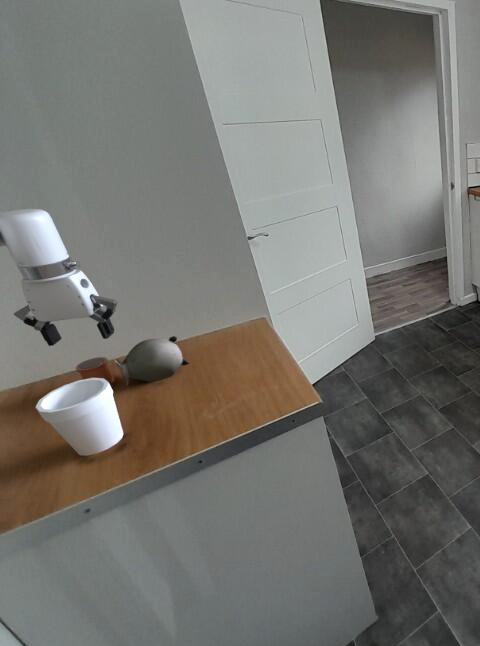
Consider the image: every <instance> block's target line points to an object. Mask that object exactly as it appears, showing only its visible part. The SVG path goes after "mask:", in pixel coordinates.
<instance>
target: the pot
mask: <svg viewBox="0 0 480 646" xmlns="http://www.w3.org/2000/svg"><path fill="white" fill-rule="evenodd" d="M75 371H76V372H77V373H79V374H80V376H81V378H82V380H84V379H90V378H104V379H105V380H106V381H108V382H109V384H110V385H111V384H112V383H113V382H114V381H115V377H114V375H113V374H114V373H113V372H112V370H111V368H110V366H109V359H108V358H107V357H105V356H99V357H93V358H89V359H85V360H83V361H82V362H80V363H78V364H77V365H76V366H75Z"/></svg>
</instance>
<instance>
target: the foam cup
mask: <svg viewBox="0 0 480 646" xmlns="http://www.w3.org/2000/svg"><path fill="white" fill-rule="evenodd" d="M113 390H114V389H112V386H111V383H110V384H109V382H108V381H106V380H105V379H104V378H90V379H84V380H83V379H79V380H76V381H72V382H70V383H67V384H64V385H62V386H59V387H58V388H56V389H53V390H52V391H51V390H50V392H47V394H45V395H44V396H43V397H41V398H40V399H39V400H38V402H37V403H36V405H35V409H36V410H37V412H38V414H39V415H40V417H41V418H42V419H43V420H44V421H45V422H46V423H49V424H50V425H51V426H52V428H53V429H55V431H56V433H58V434H59V435H60V436H61V437H62V438H63V439H64V441H66V443H68V444H69V445H70V447H71V448H72V449H73V450H74V451H75V452H76V453H77V454H78V455H79V456H85V457H88V456H92V455H97V454H100V453H102V452H104V451H106V450H109V449H111V448H112V447H113V446H115V445H116V444H118V443H119V442H120V441H121V440H122V439H123V436H124V430H123V427H122V423H121V420H120V415H119V413H118V409H117V404H116V402H115V398H114V395H113V394H114V391H113Z"/></svg>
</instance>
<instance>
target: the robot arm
mask: <svg viewBox="0 0 480 646" xmlns="http://www.w3.org/2000/svg"><path fill="white" fill-rule="evenodd" d="M4 246H5V247H6V248H7V250H8V252H9V254H10V256H11V257H12V259H13V262H14V264H15V265H16V267H17V269H18V271H19V273H20V275H21V277H22V279H21V280H20V281H21V287H22V288H21V289H22V292H23V295H24V299H25V301H26V303H27V304H26V305H25V306H24V307H22V308H20V309H18V310H16V311H14V312H13V316H14V317H16V319H19V320H20V321H22V322H23V324H25V325H27V326H29V327H32V328H33V329H34V330H35V331H38V332H40V334H41V336H42V338H43V340H44V341H45V342H46V343H47V346H49V347H52V346H54V345H56V344H57V343H59V342H60V341H61V340H62V336H61V334H60V332H59V330H58V328H57V326H56V324H54V323H52V322H58V321H67V320H76V319H84V318H90V319H92V320H94V321H96V322H98V323H96V327H97V329H98V331H99V333H100V335H101V338H102V339H104V340H106V339H109V338H110V337H111V336H113V334H114V333H115V327H114V325H113V323H112V321H111V319H110V318H112V316H113V315H114V313H115V312H116V311H117V305H118V301H117V300H116V299H114V298H113V299H112V298H109V297H105V296H100V295H99V293H98V291H97V290H96V288H95V287H94V285H93V284H92V282H91V281H90V279H89V278H88V276H87V275H86V274H85V273H84V272H83V271H82V270H81V269H79V268H80V267H81V263H80V261H74V260H73V259H72V257H70V255H69V252H68V251H67V248H66V246H65V244H64V242H63V240H62V238H61V235H60V233H59V231H58V229H57V226H56V225H55V223H54V220H53V219H52V217H51V215H50V213H49V212H48V211H46V210H44V209H39V208H24V209H23V208H22V209H14V210H9V211H4V212H3V211H0V248H1V247H4ZM104 306H105V307H106V309H105V310H104V309H102V308H103V307H104ZM30 313H31V314H32V315H31V314H30Z"/></svg>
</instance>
